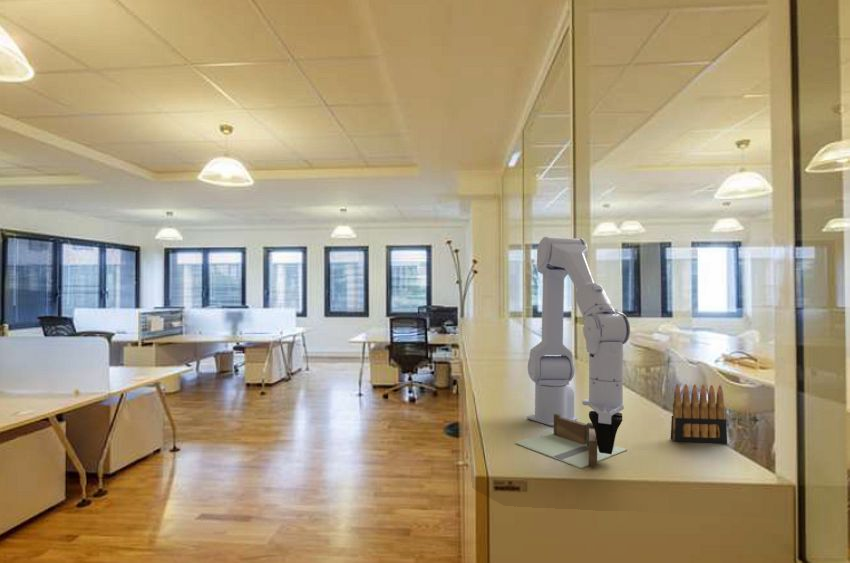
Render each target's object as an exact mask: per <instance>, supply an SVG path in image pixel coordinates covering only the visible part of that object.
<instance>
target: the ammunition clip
mask: <svg viewBox="0 0 850 563" xmlns="http://www.w3.org/2000/svg"><path fill="white" fill-rule="evenodd" d="M689 390H690V389H689V386H688V384H687V383H686V384H684V387H683V391H682V392H681V388H680V385H679V384H678V383H676V384H675V388H674V392H673V394H674V395H673V402H672V415H671V423H670V440H671V441H672V442H674V443H676V442H677V443H679V444H680V443H681V444H683V443H684V444H706V445H707V444H709V445H711V444H712V445H727V444H728V431H727V430H728V428H727V419H726V413H725V412H726V406H725V403H724V402H725V401H724V400H725V399H724V391H723V387H722V386H721V384H720V385H718V387H717V392H716V393H715V388H714V385H713V384H710V386H709V389H708V392H707V389H706V387H705V385H704V384H702V385H701V386H700V391H699V393H698V387H697V386H696V384H693V386H692V388H691V397H690V391H689ZM681 393H682V396H681ZM707 393H708V394H707ZM698 394H699V395H698ZM707 395H708V396H707ZM681 397H682V398H681Z"/></svg>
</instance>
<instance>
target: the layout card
mask: <svg viewBox="0 0 850 563" xmlns="http://www.w3.org/2000/svg"><path fill="white" fill-rule="evenodd" d="M514 444H515V445H518V446H520V447H523V448H526V449H527V450H528V449H529V450H531V451H533V452H537V453H539V454H541V455H544V456H547V457H549V458H553V459H555V460H557V461H560V462H562V463H566V464H569V465H570V466H573V467H576V468H579V469H584V468H587V467H589V447H588V446H587V444H582V443H579V442H576V441H573V440H570V439H567V438H564V437H561V436H557V435H554V430H553V431H550V432H547V433H542V434H540V435H537V436H533V437H529V438H526V439H523V440H519V441H515V443H514ZM627 450H628V449H626V448H623V447H620V446H617V445H614V447H613V451H612V454H605V453H599V449H598V447H597V463H599V462H601V461H604V460H607V459H608V458H612V457H613V456H617V455H619V454H621V453H624V452H627Z"/></svg>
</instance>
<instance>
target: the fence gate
mask: <svg viewBox="0 0 850 563" xmlns="http://www.w3.org/2000/svg"><path fill="white" fill-rule="evenodd" d="M589 466H590V467H593V468H595V467H598V462H597V442H596V433H595V430H594V429H592V428H589ZM589 466H588V467H589Z"/></svg>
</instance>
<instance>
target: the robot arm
mask: <svg viewBox="0 0 850 563" xmlns="http://www.w3.org/2000/svg"><path fill="white" fill-rule="evenodd" d="M536 252H537V253H536V269H537V273H540V274H541V275H542V300H541V301H542V302H541V304H542V305H541V306H542V308H541V310H542V311H541V312H542V314H541V341H540V342H539V343H537V344H536V345H534V347H532V348H531V349H530V350H529V358H528V361H527V373H528V376H529V378H530V380H531V381H532V382H533V383H534V385H535V386H534V414H531V415H528V416H526V419H527V420H531V421H534V422H537V423H540V424H544V425H546V426H551V427H554V414H560V415H561V417H563V418H567V419H570V420H574V421H578V417H576V416H575V392H574V389H573V387H572V386H571V385H570V382H571V381H572V380H573V379H574V376H575V373H576V372H575V370H576V369H575V364H574V358H573V354H574V353H573V352H572V350H571V349H569V348H568V347H567V346H566V345H564V303H565V302H564V300H565V279H566V277H567V276H569V278H570V281H571V282H572V283H573V285H574V286H575V288H576V291H575V293H574V299H575V301H576V304H577V306H578V309H579V311H580V313H581V315H582V318H583V321H584V323H583V327H582V333H583V336H584V340H585V344H586V346H585V347H586V348H585V349H586V352H587V353H589V354H588V355H589V356H588V363H589V364H588V367H589V368H588V373H589V374H588V375H589V376H588V384H589V385H588V398H587V399H586V398H583V399H581V400H582V401H581V404H582V405H583V406H588V407H589V408H590V409H592V410H591V411H589V412H588V418H589V420H590V423H592V424H593V427H594V430H595V433H596V439H597V445H598V449H599V453H605V454H612V451H613V447H614V446H615V441H616V435H617V431H618V430H619V428H620V426H621V425H622V422H623V413H621V412H622V411H623V410H624V409H625V404H624V403H623V402H624V399H623V398H624V397H623V396H624V389H623V388H624V379H623V378H624V374H623V373H624V370H623V368H624V362H623V361H624V356H623V355H624V344H626V343H627V342H628V341H629V339H630V335H631V326H630V325H631V324H630V321H629V319H628V317H627V315H626V314H625V313H623V312H620V310H619V309H615V308H614V306H613V304H612V302H611V299H610V298H609V297H608V294H607V293H606V290H605V288H604V287H603V286H602V285H601V284H600V283H596V282H595V281H594V279H593V276H592V273H591V270H590V267H589V265H588V262H587V261H588V260H587V259H588V253H589V248H588V244H587V242H586V240H585V239H584V238H581V237H578V238H574V237H573V238H568V237H567V238H566V237H565V238H564V237H548V236H544V237H542V238H541V239H540V241H539V243H538V246H537V249H536Z"/></svg>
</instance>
